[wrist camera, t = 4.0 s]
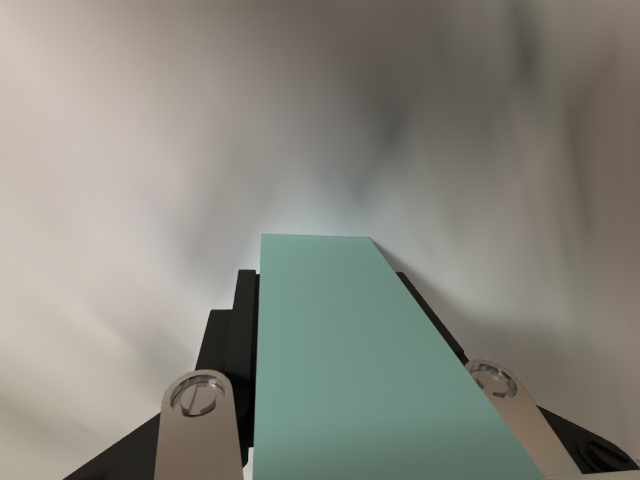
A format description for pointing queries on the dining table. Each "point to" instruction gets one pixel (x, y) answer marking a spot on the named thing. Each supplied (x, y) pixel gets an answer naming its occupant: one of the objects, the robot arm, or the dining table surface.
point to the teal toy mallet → (363, 376)
